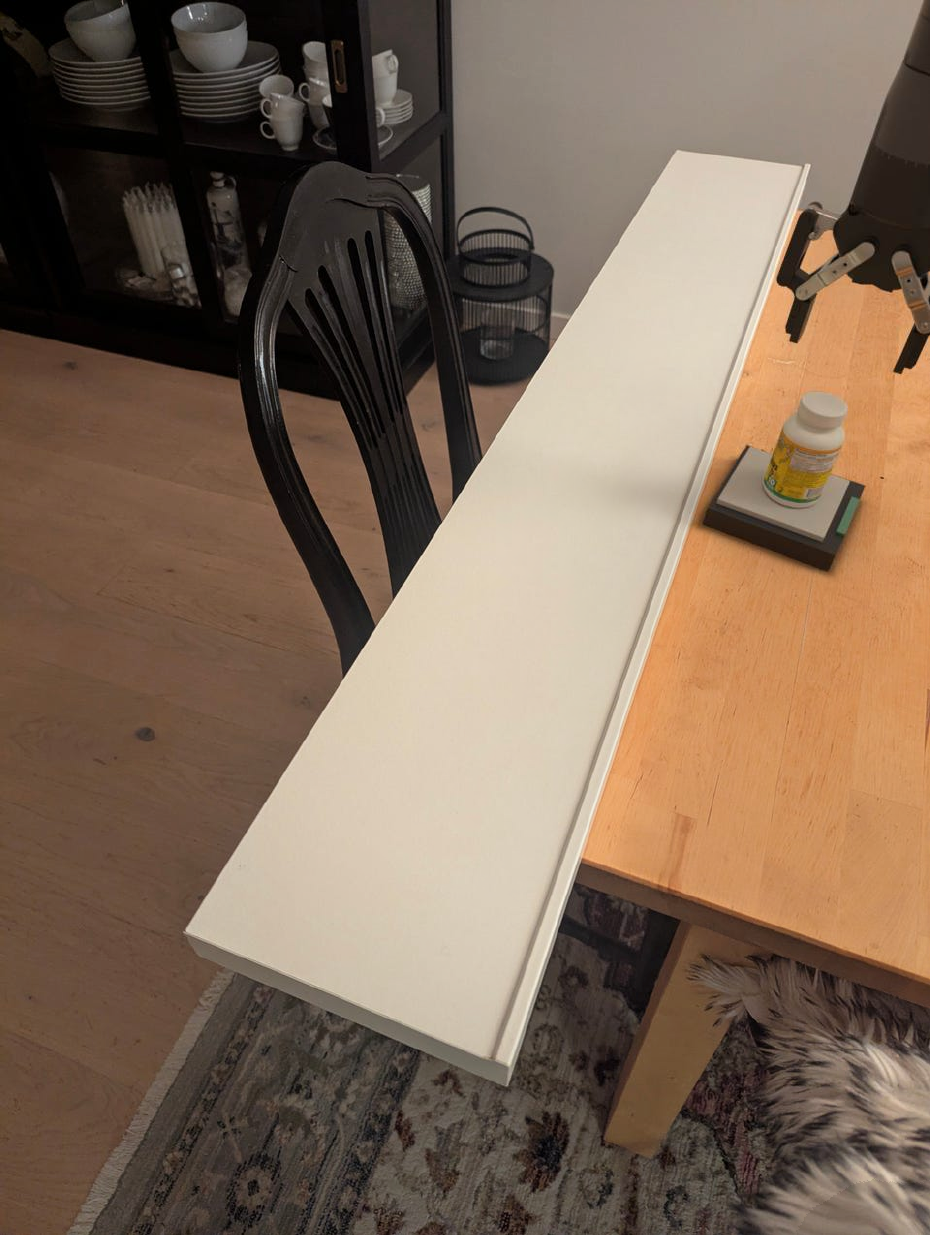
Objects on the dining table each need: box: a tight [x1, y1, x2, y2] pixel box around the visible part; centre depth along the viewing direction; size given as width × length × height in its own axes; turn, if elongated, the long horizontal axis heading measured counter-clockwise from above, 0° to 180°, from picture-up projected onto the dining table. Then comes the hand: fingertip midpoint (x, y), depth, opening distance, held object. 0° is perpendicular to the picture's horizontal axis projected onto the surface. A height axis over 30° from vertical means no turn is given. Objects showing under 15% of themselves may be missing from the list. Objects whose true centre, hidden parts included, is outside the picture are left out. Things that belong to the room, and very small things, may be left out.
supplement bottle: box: [763, 391, 849, 508], centre depth 80 cm, size 5×5×10 cm
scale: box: [702, 444, 866, 572], centre depth 84 cm, size 12×12×3 cm
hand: (846, 354), depth 73 cm, fingers open, 8 cm apart
